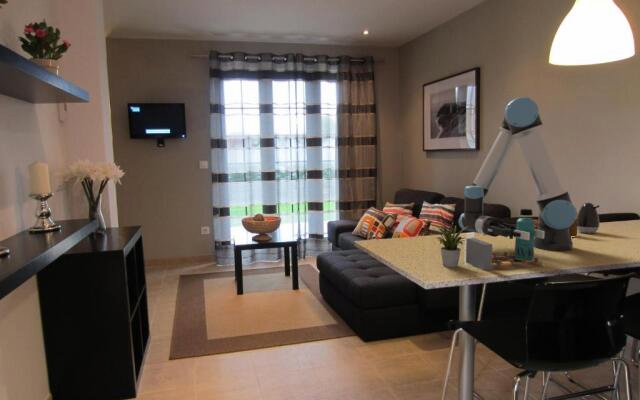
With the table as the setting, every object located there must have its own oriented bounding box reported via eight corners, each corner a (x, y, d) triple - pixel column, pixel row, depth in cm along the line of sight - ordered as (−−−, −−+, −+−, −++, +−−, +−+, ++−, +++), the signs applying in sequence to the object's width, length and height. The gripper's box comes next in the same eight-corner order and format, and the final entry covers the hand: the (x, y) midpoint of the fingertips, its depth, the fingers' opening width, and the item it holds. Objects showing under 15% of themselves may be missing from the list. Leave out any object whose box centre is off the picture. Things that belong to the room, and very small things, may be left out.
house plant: (421, 267, 160) (421, 222, 158) (433, 259, 172) (433, 217, 170) (461, 272, 152) (462, 225, 151) (471, 263, 164) (472, 219, 162)
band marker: (491, 256, 168) (491, 254, 168) (511, 264, 156) (511, 262, 156) (484, 257, 168) (484, 255, 168) (503, 264, 156) (503, 263, 156)
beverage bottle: (510, 260, 167) (512, 208, 165) (527, 260, 168) (529, 207, 166) (519, 265, 161) (522, 210, 159) (537, 264, 161) (539, 210, 159)
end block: (473, 261, 167) (473, 238, 166) (491, 269, 155) (492, 244, 154) (465, 262, 166) (466, 238, 165) (483, 270, 155) (484, 244, 154)
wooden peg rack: (520, 258, 171) (521, 250, 170) (542, 266, 159) (542, 258, 159) (473, 261, 167) (473, 253, 167) (491, 269, 155) (491, 261, 155)
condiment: (580, 236, 214) (582, 211, 213) (571, 238, 210) (572, 213, 208) (565, 234, 220) (566, 210, 219) (556, 236, 216) (557, 211, 214)
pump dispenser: (591, 235, 216) (593, 204, 214) (570, 232, 225) (572, 202, 223) (603, 233, 221) (605, 203, 219) (583, 230, 230) (584, 201, 228)
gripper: (507, 233, 184) (555, 243, 162) (470, 237, 177) (515, 248, 155) (508, 215, 183) (556, 223, 162) (470, 218, 176) (515, 227, 155)
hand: (536, 235), depth 159 cm, fingers closed on beverage bottle, 6 cm apart
